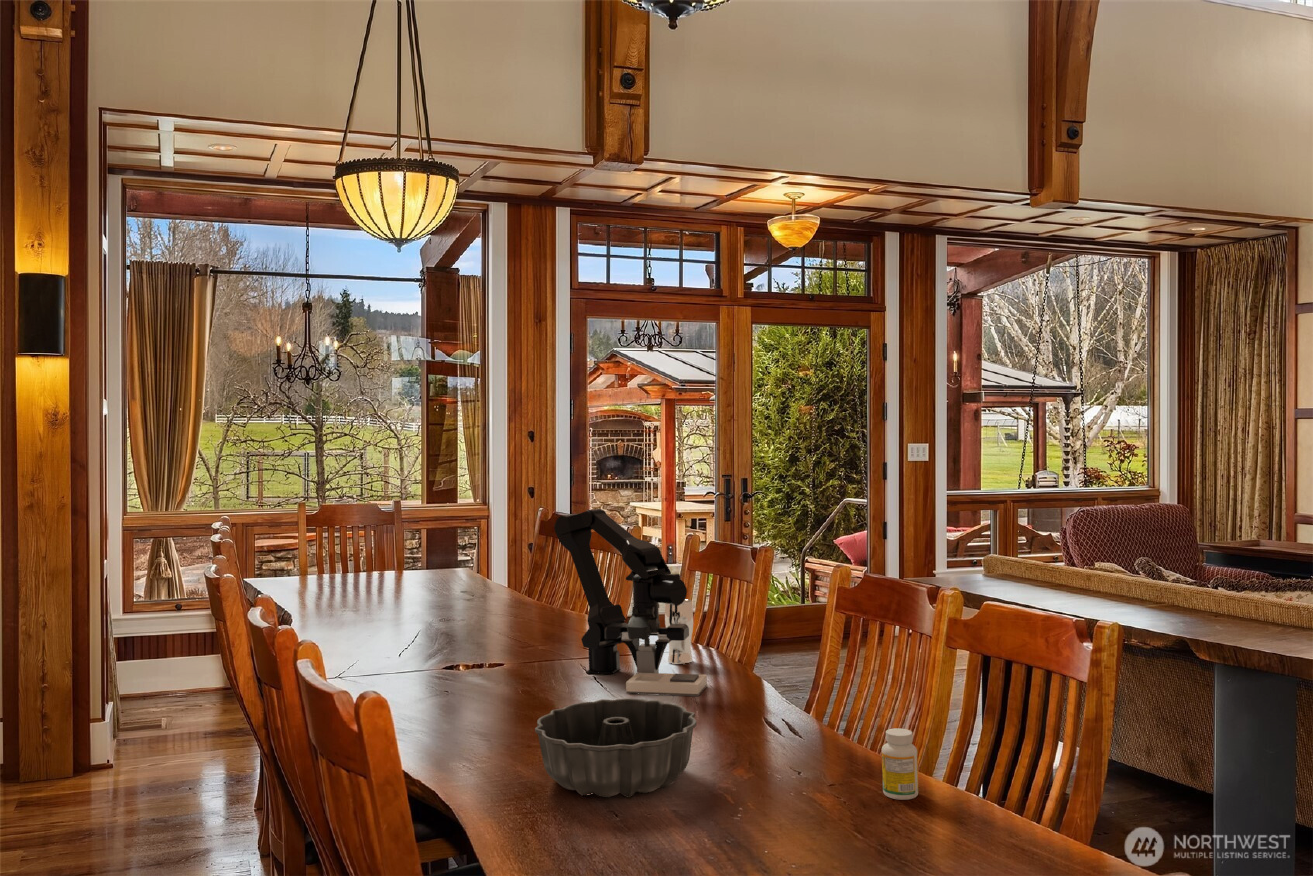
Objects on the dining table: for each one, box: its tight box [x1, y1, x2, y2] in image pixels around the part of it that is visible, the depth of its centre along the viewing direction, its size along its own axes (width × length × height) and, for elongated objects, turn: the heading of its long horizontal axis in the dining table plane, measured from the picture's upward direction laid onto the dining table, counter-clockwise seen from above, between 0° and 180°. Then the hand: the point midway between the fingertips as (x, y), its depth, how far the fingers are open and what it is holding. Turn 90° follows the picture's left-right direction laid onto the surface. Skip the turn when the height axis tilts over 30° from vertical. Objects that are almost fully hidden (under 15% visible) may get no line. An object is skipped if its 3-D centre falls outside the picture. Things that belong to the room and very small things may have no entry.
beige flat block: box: [625, 672, 708, 697], centre depth 226 cm, size 16×9×3 cm, turn 75°
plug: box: [636, 637, 660, 673], centre depth 235 cm, size 4×4×10 cm
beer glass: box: [664, 598, 694, 665], centre depth 253 cm, size 7×7×15 cm
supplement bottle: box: [881, 727, 919, 801], centre depth 158 cm, size 5×5×10 cm
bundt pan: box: [534, 697, 697, 798], centre depth 168 cm, size 26×26×10 cm
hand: (647, 669), depth 236 cm, fingers closed on plug, 4 cm apart
